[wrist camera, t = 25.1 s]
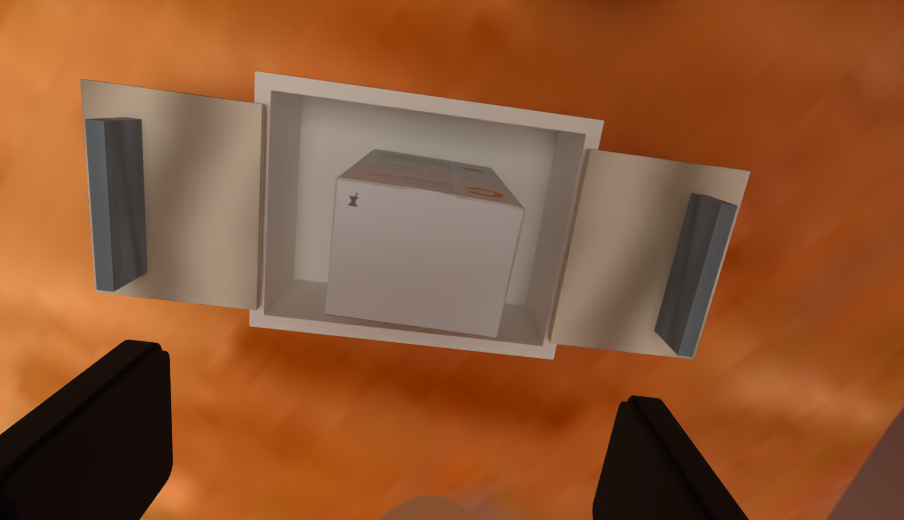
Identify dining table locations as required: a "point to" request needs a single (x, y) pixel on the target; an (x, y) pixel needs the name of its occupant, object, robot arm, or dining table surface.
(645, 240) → the lid panel
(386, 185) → the small box
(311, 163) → the carton
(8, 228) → the dining table surface
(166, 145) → the lid panel
